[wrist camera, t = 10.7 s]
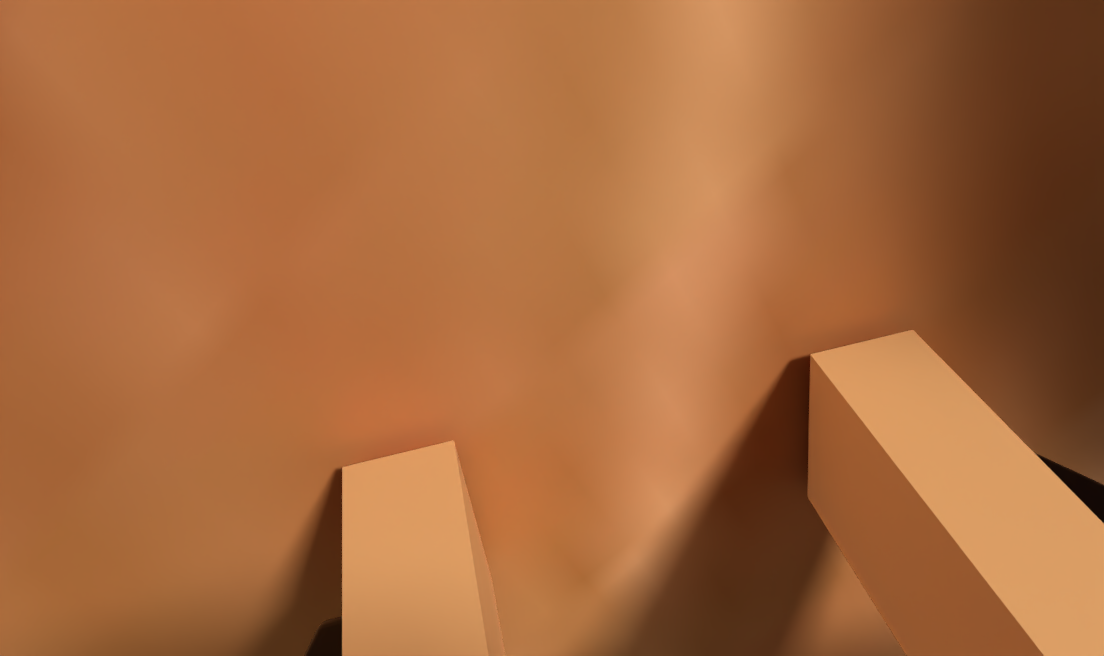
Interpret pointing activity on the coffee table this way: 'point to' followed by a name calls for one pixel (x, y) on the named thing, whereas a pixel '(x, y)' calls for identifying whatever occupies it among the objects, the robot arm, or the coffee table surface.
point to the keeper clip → (836, 494)
